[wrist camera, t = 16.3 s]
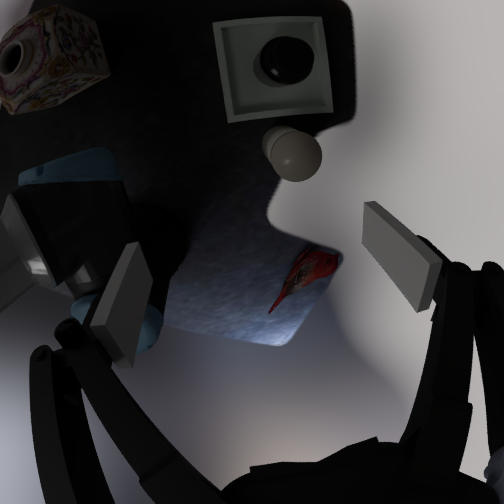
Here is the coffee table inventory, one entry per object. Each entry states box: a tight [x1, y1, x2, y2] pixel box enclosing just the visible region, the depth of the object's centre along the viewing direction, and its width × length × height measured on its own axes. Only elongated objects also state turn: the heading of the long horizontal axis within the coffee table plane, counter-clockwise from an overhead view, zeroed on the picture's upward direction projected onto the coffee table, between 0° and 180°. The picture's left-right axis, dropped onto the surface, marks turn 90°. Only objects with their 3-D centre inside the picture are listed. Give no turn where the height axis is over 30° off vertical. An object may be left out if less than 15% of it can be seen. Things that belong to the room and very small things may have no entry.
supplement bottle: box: [253, 36, 315, 88], centre depth 31 cm, size 7×7×12 cm
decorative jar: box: [0, 4, 111, 115], centre depth 24 cm, size 12×12×18 cm
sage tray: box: [213, 16, 333, 123], centre depth 36 cm, size 16×16×3 cm
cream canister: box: [262, 125, 322, 182], centre depth 40 cm, size 7×7×10 cm
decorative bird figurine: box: [268, 248, 339, 314], centre depth 52 cm, size 3×18×10 cm, turn 141°
